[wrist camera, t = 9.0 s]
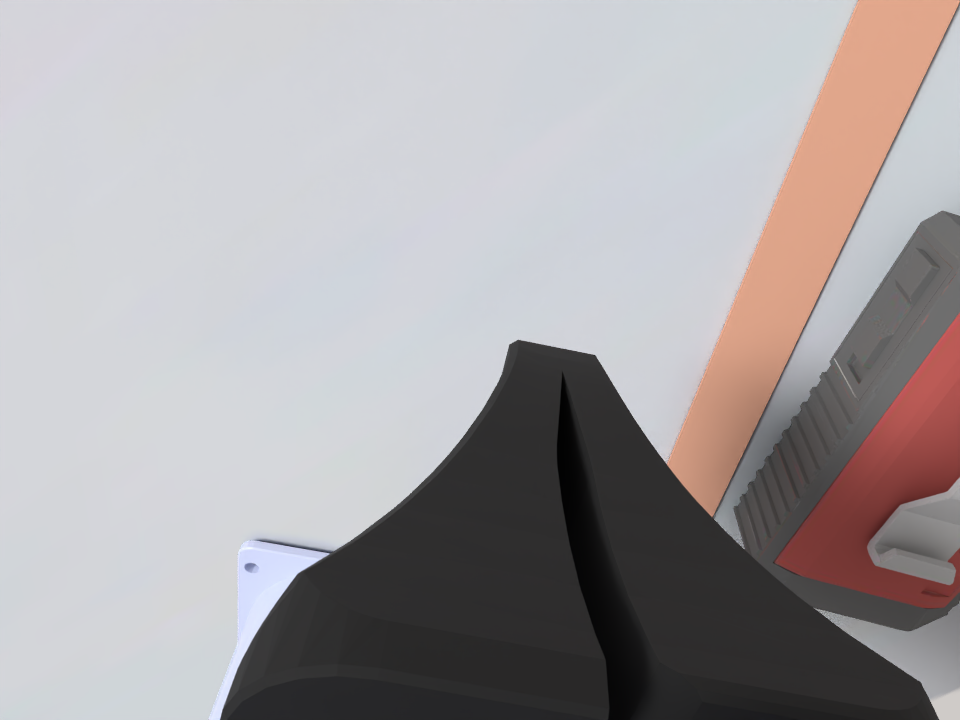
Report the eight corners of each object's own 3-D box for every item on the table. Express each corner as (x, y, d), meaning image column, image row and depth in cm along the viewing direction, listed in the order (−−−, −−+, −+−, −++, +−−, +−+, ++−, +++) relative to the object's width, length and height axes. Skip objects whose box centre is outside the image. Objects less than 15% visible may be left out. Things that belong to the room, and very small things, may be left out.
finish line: (671, 611, 28) (699, 781, 23) (605, 599, 27) (618, 768, 22) (1357, -804, 11) (2069, -1369, 6) (1190, -844, 11) (1766, -1457, 6)
